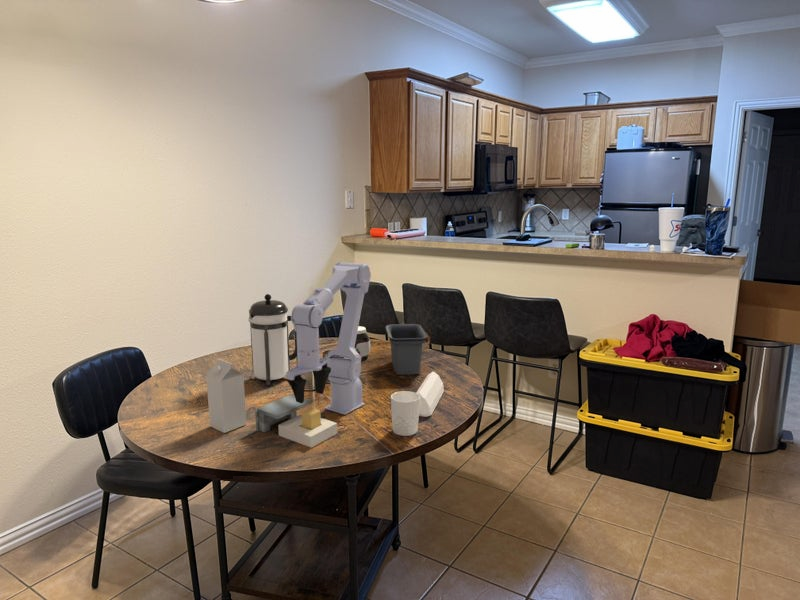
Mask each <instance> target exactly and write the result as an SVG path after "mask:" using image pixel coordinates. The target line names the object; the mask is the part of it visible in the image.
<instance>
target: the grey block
mask: <svg viewBox="0 0 800 600" xmlns="http://www.w3.org/2000/svg"><path fill="white" fill-rule="evenodd" d="M312 404H313V399H310V398H306V397H304V402H303V403H299V402H296V399H295V395H294V393H291V394H288V395H286V396H284V397H281V398H280V399H277V400H274V401H272V402H270V403H268V404H265V405H262V406H260V407H258V408H256V410H255V411H254V416H255V430H256V431H257V432H261V433H262V432H263V433H267V432H269V431H270V430H271V426H273V425H275V424H277V423H279V422H282V421H283V420H285V419H288V420H290V419H292V418H295V417H297V416H298V414H297V413H298V412H297V411H299V410H301V409H303V408H306V407H307V406H310V405H312Z"/></svg>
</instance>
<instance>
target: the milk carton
mask: <svg viewBox="0 0 800 600" xmlns="http://www.w3.org/2000/svg"><path fill="white" fill-rule="evenodd" d="M215 361H216V362H215V363H214V365H212V367H211V368H210V370H209V371H208V372H207V373H206V377H205V378H206V389H207V402H208V416H209V417H208V418H209V427H211V428H213V429H214V430H217V431H219V432H221V433H223V434H226V433H228V432H231V431H233V430H236V429H239V428H241V427H244V426H246V425H247V414H246V413H247V411H246V397H245V396H246V395H245V394H246V393H245V382H244V381H245V379H244V376H245V375H244V373H242V372H241V371H239V370H238V369H236V368H234V367H233V363H232V362H228V361H226V360H223V359H221V358H218V357H216V360H215Z"/></svg>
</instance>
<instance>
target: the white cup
mask: <svg viewBox="0 0 800 600" xmlns="http://www.w3.org/2000/svg"><path fill="white" fill-rule="evenodd" d="M419 405H420V395H419V394H417V393H416V392H415V391H408V390H402V391H396V392H393V393H391V395H390V410H391V422H392V432H393V433H394V434H396V435H398V436H402V437H403V436H404V437H409V436H413V435H415V434H417V432H418V429H419V428H418V427H419V417H420V416H419Z"/></svg>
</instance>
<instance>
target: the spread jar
mask: <svg viewBox="0 0 800 600" xmlns="http://www.w3.org/2000/svg"><path fill="white" fill-rule="evenodd" d="M354 349H355V350H356V352H357V353H358V354H359V355H360V356H361V360H365V359H366V358H367V357H368V356H369V355H370V352H371V339H370V336H369V334H368V333H367V329H366V327H365V326H360V325H358V331H357V336H356V342H355V347H354ZM344 358H345V359H351V358H347V357H344Z"/></svg>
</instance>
